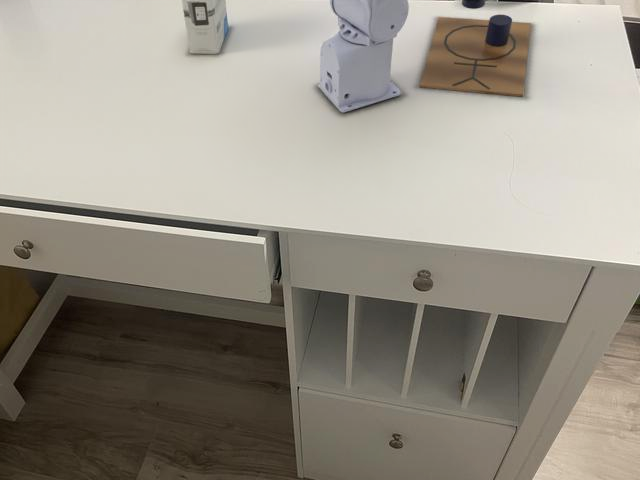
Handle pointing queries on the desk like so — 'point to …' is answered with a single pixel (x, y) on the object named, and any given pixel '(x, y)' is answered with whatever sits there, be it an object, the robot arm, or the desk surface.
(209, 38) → the ink box
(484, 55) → the sheet
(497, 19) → the dot
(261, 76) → the desk surface
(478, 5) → the dot
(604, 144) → the desk surface
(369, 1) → the robot arm
